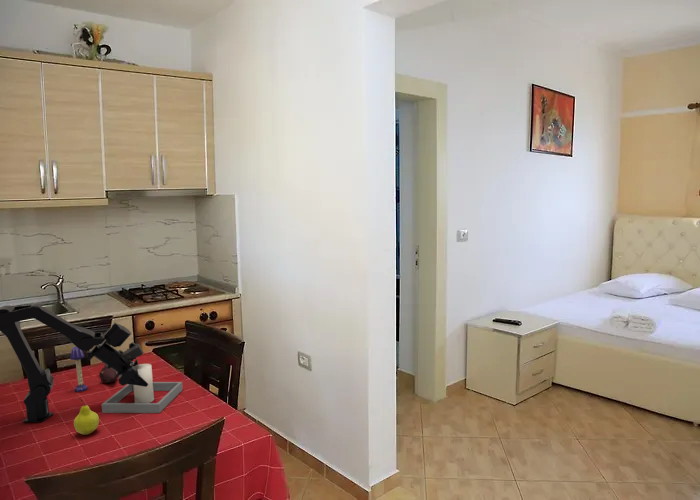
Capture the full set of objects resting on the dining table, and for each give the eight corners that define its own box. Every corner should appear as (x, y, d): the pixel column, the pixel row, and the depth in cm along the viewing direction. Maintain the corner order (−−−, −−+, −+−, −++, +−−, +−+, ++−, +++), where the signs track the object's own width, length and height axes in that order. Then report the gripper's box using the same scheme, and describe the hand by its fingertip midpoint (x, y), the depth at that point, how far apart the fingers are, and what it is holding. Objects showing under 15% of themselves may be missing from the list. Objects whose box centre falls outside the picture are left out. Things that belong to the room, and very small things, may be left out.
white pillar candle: (149, 404, 182) (146, 369, 180) (131, 404, 182) (128, 370, 181) (157, 397, 188) (154, 363, 187) (140, 397, 189) (137, 363, 187)
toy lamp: (83, 392, 194) (79, 349, 193) (70, 392, 195) (67, 349, 193) (89, 387, 199) (86, 345, 197) (77, 387, 199) (73, 345, 197)
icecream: (124, 368, 200) (116, 362, 213) (103, 368, 196) (97, 361, 209) (121, 387, 200) (113, 379, 212) (100, 386, 196) (94, 378, 208)
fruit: (94, 426, 166) (90, 390, 165) (104, 432, 162) (100, 395, 161) (71, 434, 161) (67, 397, 160) (81, 440, 157) (77, 402, 155)
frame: (159, 412, 175) (158, 404, 174) (102, 412, 176) (101, 404, 176) (182, 389, 195) (182, 382, 194) (130, 389, 196) (130, 382, 196)
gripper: (126, 345, 172) (164, 372, 178) (127, 331, 190) (162, 356, 195) (102, 372, 170) (141, 398, 176) (105, 355, 188) (141, 380, 193)
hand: (147, 382), depth 185 cm, fingers closed on white pillar candle, 6 cm apart
